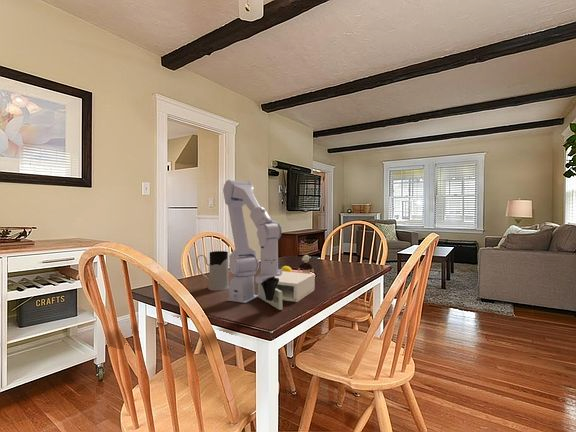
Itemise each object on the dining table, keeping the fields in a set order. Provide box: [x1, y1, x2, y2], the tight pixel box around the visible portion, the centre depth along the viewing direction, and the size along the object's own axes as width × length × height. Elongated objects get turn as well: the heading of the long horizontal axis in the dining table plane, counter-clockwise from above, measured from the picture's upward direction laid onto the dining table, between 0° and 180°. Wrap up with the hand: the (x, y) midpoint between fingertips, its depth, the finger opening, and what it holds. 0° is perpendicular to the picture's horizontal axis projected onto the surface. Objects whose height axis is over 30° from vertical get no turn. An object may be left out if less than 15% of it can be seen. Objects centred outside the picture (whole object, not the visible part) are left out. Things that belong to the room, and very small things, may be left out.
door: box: [257, 283, 283, 311], centre depth 111 cm, size 2×17×6 cm, turn 29°
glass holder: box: [196, 250, 229, 291], centre depth 134 cm, size 9×14×15 cm, turn 81°
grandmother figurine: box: [297, 254, 315, 274], centre depth 141 cm, size 8×4×13 cm, turn 74°
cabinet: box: [275, 271, 316, 303], centre depth 125 cm, size 18×15×6 cm
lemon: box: [280, 265, 293, 272], centre depth 155 cm, size 7×5×5 cm
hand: (269, 300), depth 105 cm, fingers closed
